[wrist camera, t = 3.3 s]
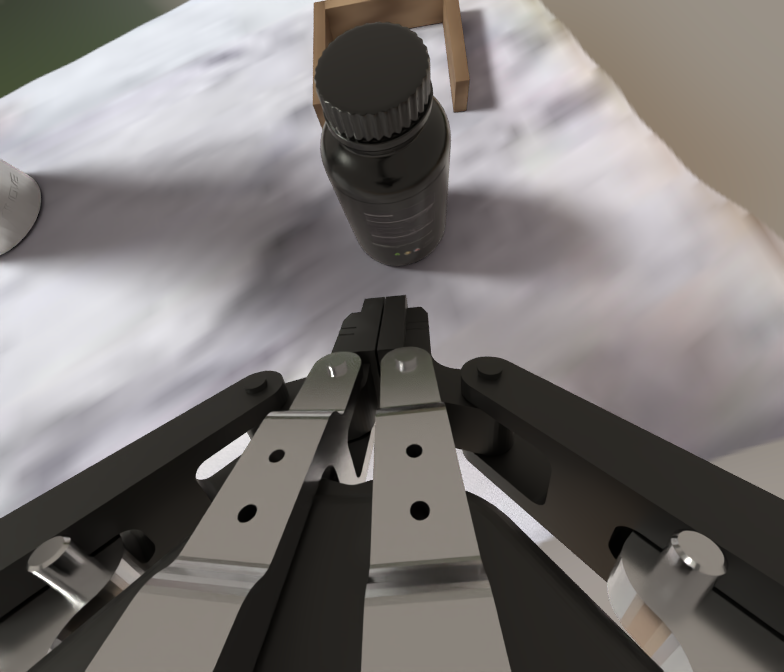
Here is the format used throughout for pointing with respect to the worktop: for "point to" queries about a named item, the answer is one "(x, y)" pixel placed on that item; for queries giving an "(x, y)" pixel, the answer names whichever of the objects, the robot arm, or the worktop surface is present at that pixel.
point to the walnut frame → (398, 6)
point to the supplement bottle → (385, 140)
